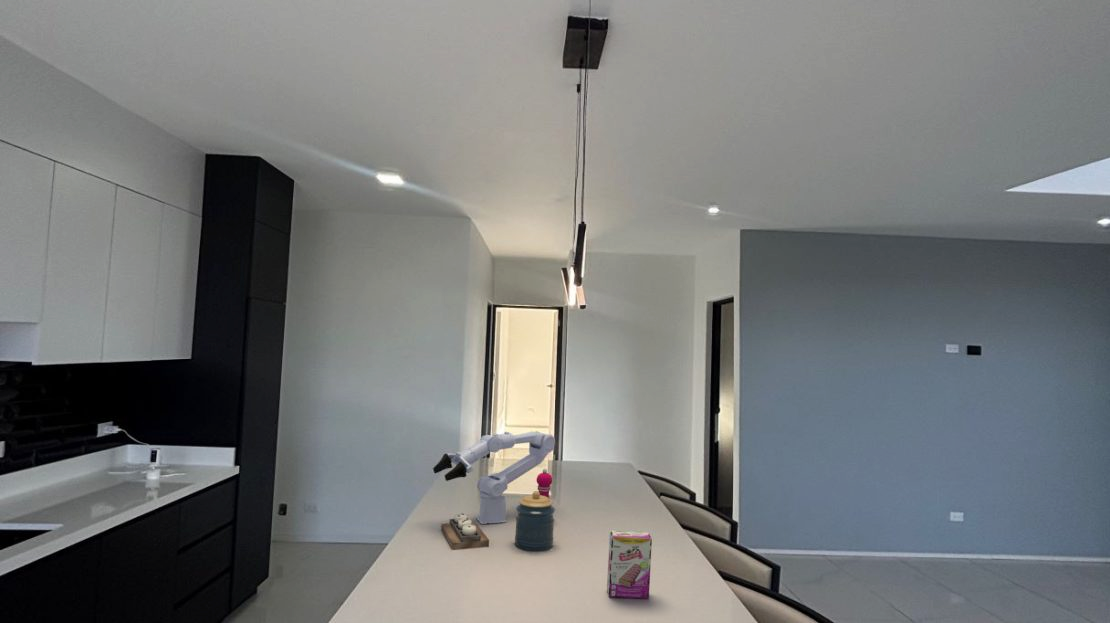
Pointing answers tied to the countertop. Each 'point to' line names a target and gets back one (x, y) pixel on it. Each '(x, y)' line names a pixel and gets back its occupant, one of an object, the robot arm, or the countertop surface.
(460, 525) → the button three
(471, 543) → the button panel
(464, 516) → the button two
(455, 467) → the robot arm
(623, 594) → the candy bar box
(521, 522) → the canister
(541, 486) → the pepper mill
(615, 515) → the countertop surface
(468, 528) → the button one
